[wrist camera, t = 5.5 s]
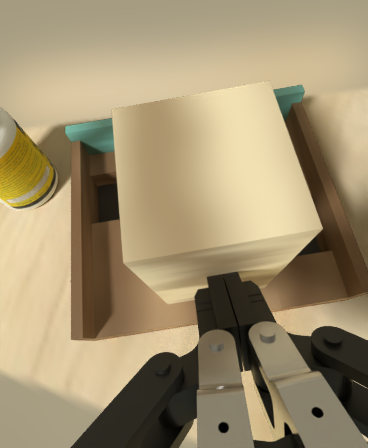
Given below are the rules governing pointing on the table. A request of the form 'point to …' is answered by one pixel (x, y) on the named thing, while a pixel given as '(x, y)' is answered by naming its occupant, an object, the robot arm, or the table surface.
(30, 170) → the supplement bottle
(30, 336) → the table surface
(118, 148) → the maple block
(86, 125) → the trap lane
